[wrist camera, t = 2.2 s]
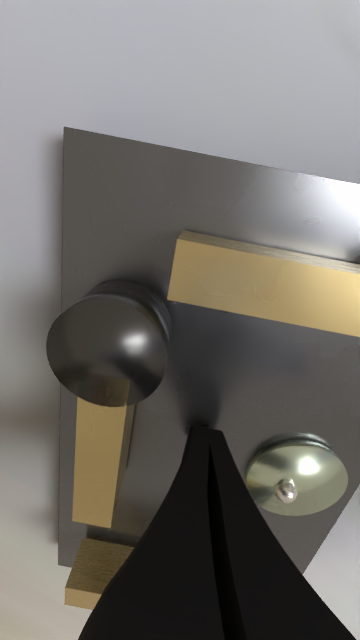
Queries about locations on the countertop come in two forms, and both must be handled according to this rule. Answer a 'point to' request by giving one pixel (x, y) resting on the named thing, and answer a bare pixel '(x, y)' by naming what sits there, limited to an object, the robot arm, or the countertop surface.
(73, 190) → the levelling plate
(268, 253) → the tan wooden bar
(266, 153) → the countertop surface
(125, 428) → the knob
